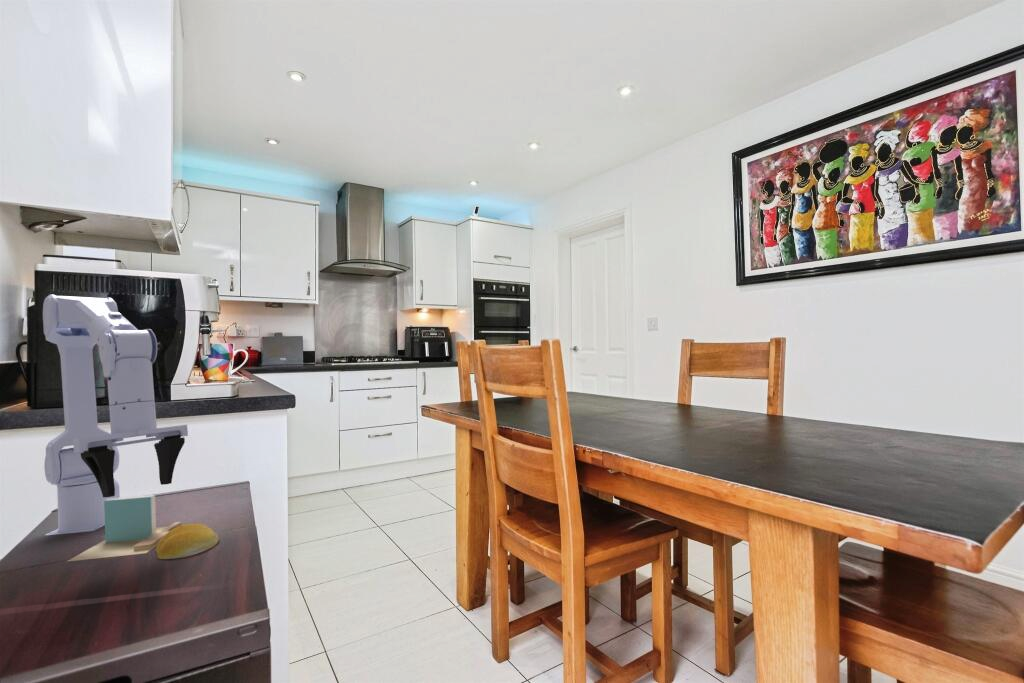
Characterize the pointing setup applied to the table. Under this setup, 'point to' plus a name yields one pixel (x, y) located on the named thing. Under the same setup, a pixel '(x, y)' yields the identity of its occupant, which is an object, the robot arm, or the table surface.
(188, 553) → the bread roll
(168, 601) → the table surface
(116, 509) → the tile
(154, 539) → the spatula
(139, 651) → the table surface
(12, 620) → the table surface
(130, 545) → the board
